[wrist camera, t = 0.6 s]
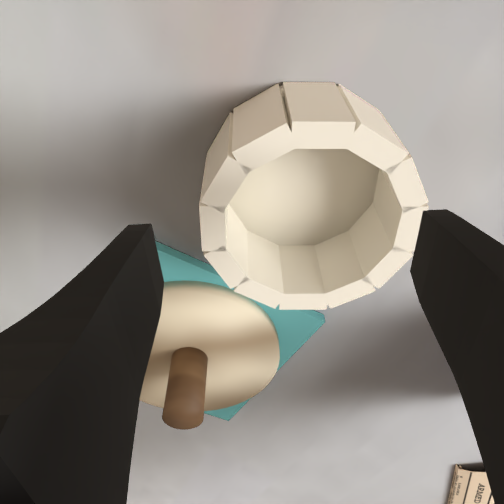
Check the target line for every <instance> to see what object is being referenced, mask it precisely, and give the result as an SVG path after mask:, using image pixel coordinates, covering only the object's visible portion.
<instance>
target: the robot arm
mask: <svg viewBox="0 0 504 504" xmlns="http://www.w3.org/2000/svg"><path fill="white" fill-rule="evenodd" d="M410 272H411V275H412V279H413V282H414V286H415V289H416V292H417V296H418V299H419V302H420V304H421V306H422V309H423V311H424V313H425V315H426V317H427V320H428V322H429V324H430V326H431V328H432V330H433V332H434V334H435V336H436V339H437V341H438V343H439V345H440V347H441V349H442V351H443V353H444V355H445V358H446V360H447V362H448V364H449V366H450V368H451V370H452V372H453V375H454V377H455V380H456V382H457V384H458V387H459V390H460V393H461V395H462V398H463V401H464V404H465V407H466V410H467V413H468V416H469V419H470V422H471V425H472V428H473V431H474V435H475V438H476V441H477V444H478V447H479V450H480V454H481V457H482V460H483V464H484V467H485V471H486V474H487V478H488V482H489V485H490V489H491V492H492V496H493V499H494V503H495V504H504V245H503V244H501V243H500V242H498V241H496V240H495V239H493V238H492V237H490V236H489V235H487V234H485V233H484V232H482V231H481V230H479V229H478V228H476V227H475V226H473V225H472V224H470V223H469V222H467V221H465V220H464V219H462V218H461V217H459V216H457V215H456V214H454V213H452V212H450V211H448V210H447V209H445V210H425V211H423V213H422V218H421V223H420V227H419V232H418V237H417V242H416V246H415V251H414V256H413V260H412V265H411V270H410ZM163 290H164V279H163V274H162V270H161V265H160V261H159V256H158V252H157V247H156V242H155V238H154V233H153V229H152V224H138V225H128V226H127V227H126V228H125V229H124V230H123V231H122V232H121V233H120V234H119V235H118V236H117V237H116V238H115V239H114V240H113V241H112V242H111V243H110V244H109V245H108V246H107V247H106V248H105V249H104V250H103V251H102V252H101V253H100V254H99V255H98V256H97V257H96V258H95V259H94V260H93V261H92V262H91V263H90V264H89V265H88V266H87V267H86V268H85V269H84V270H82V271H81V272H80V273H79V274H78V275H77V276H76V277H75V278H73V279H72V280H71V281H70V282H69V283H68V284H67V285H66V286H64V287H63V288H62V289H61V290H60V291H59V292H57V293H56V294H55V295H54V296H53V297H51V298H50V299H49V300H47V301H46V302H45V303H44V304H42V305H41V306H40V307H38V308H37V309H35V310H34V311H33V312H31V313H30V314H29V315H27V316H26V317H24V318H23V319H22V320H20V321H19V322H17V323H15V324H14V325H12V326H11V327H9V328H8V329H6V330H4V331H3V332H1V333H0V504H126V502H127V492H128V483H129V473H130V465H131V457H132V449H133V442H134V434H135V427H136V420H137V413H138V406H139V400H140V395H141V390H142V385H143V381H144V377H145V373H146V370H147V366H148V362H149V358H150V354H151V350H152V346H153V343H154V339H155V335H156V331H157V327H158V323H159V319H160V315H161V307H162V299H163Z"/></svg>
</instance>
